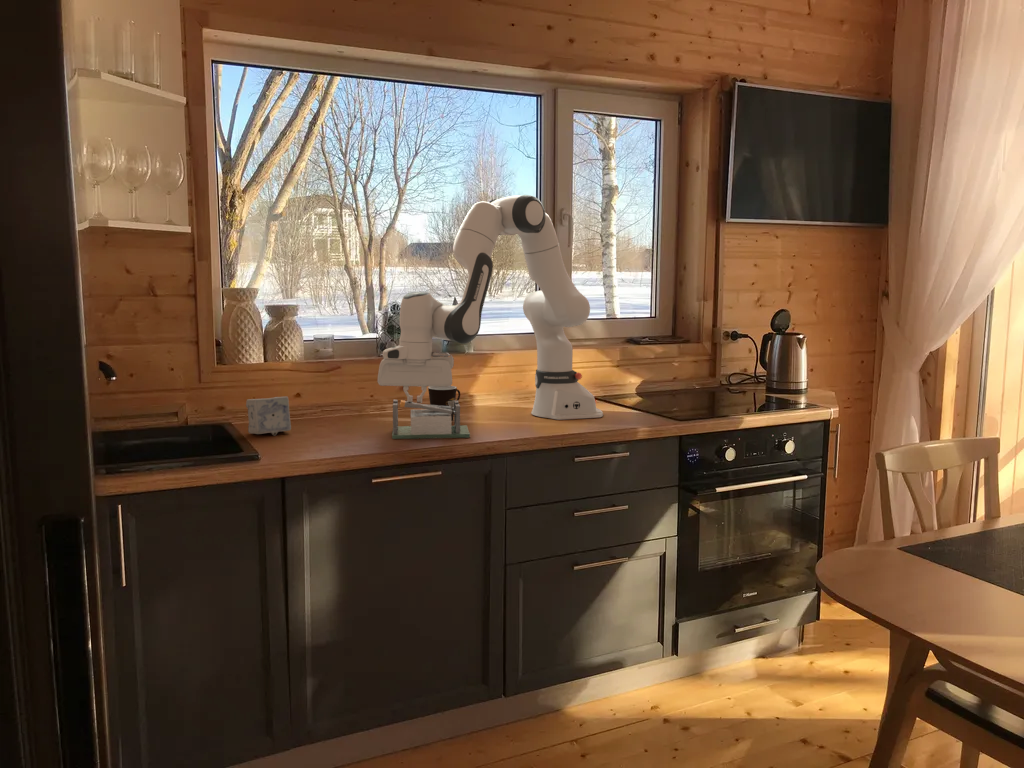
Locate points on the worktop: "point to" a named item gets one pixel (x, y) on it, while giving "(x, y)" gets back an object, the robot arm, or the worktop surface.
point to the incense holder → (268, 415)
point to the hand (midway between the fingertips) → (414, 402)
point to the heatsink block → (430, 424)
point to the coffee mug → (443, 396)
